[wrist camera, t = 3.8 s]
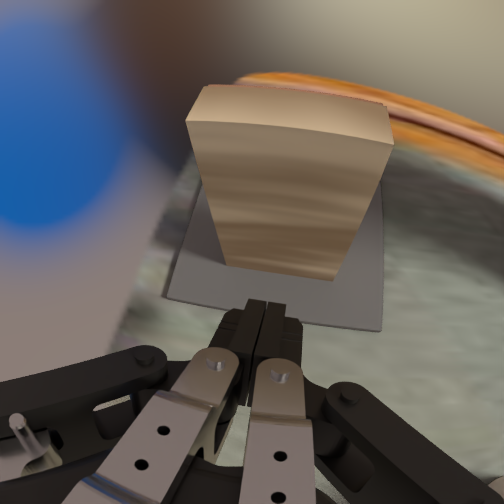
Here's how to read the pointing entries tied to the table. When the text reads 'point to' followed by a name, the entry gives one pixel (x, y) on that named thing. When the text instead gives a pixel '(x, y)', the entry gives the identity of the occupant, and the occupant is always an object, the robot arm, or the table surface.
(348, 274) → the rubber mat
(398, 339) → the table surface
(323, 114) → the maple block
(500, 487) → the dixie cup
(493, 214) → the table surface
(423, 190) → the table surface
